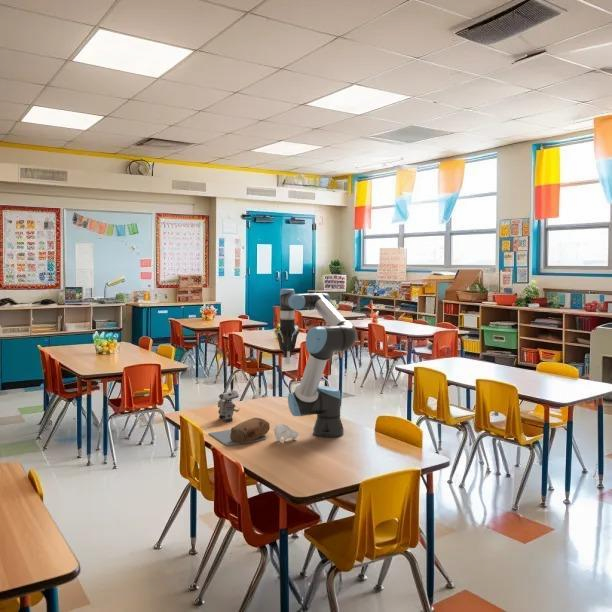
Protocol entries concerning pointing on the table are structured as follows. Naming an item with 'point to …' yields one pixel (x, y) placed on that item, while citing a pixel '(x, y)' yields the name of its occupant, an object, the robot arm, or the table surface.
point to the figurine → (227, 405)
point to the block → (249, 430)
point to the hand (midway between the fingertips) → (287, 363)
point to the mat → (225, 438)
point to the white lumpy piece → (284, 432)
